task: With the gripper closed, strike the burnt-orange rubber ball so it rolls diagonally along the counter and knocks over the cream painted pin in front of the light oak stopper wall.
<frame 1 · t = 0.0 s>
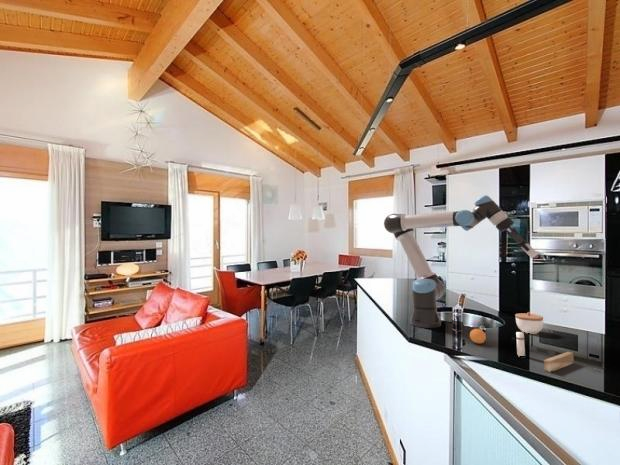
hand: (534, 256, 142), 36 cm above the table, tool tilted 35°, fingers open, 13 cm apart
lidded jar: (529, 332, 142), on the table
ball: (477, 336, 128), on the table
stopper wall: (559, 366, 102), on the table
pin: (521, 355, 113), on the table
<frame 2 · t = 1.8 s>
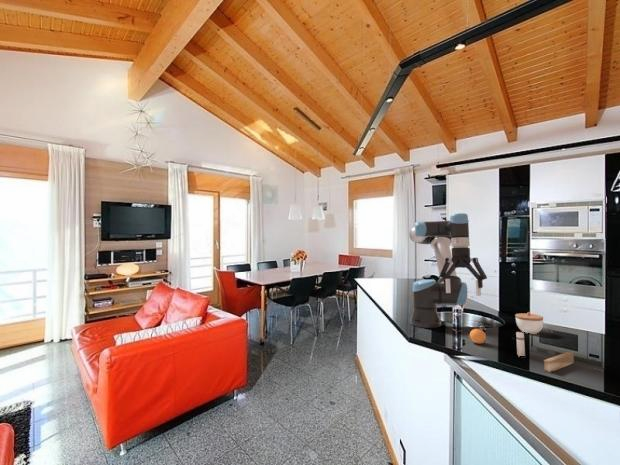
hand: (462, 294, 136), 20 cm above the table, tool pointing down, fingers open, 13 cm apart
nothing on the table moved.
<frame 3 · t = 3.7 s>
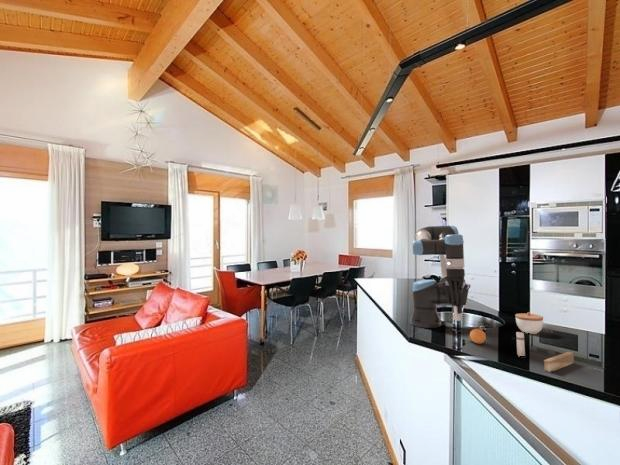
hand: (457, 320, 136), 8 cm above the table, tool pointing down, fingers closed
nothing on the table moved.
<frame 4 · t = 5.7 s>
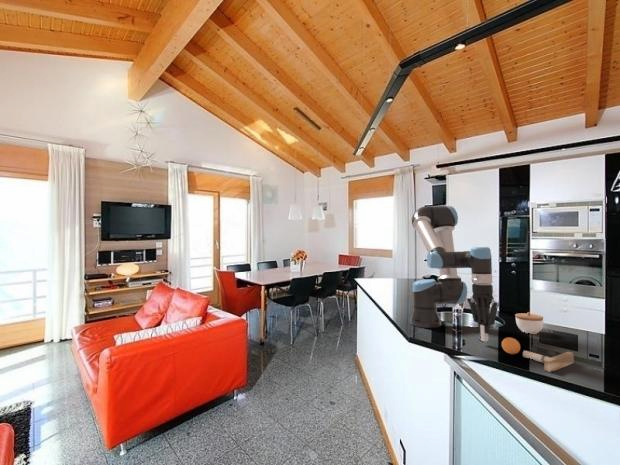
hand: (484, 340, 125), 2 cm above the table, tool pointing down, fingers closed
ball: (510, 345, 115), on the table
pin: (524, 353, 112), point 1 cm above the table, tilted 90°
everything else where it was.
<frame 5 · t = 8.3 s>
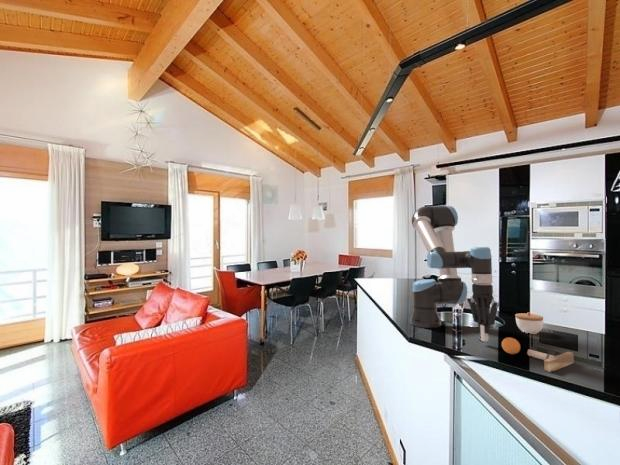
hand: (484, 340, 125), 2 cm above the table, tool pointing down, fingers closed
pin: (529, 352, 113), point 1 cm above the table, tilted 90°
everything else where it was.
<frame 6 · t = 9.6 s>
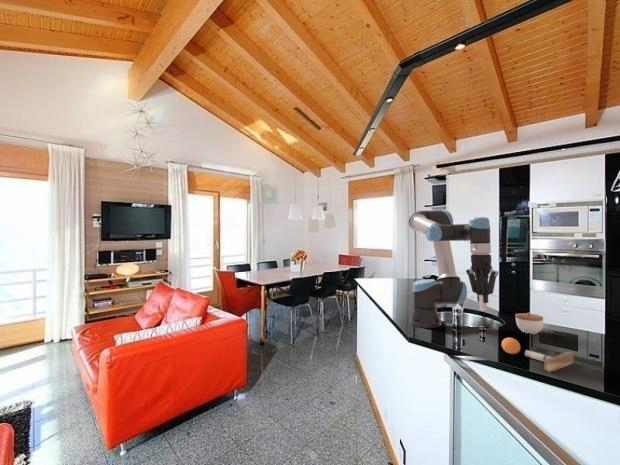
hand: (483, 310, 126), 14 cm above the table, tool pointing down, fingers closed
pin: (526, 353, 112), point 1 cm above the table, tilted 90°
everything else where it was.
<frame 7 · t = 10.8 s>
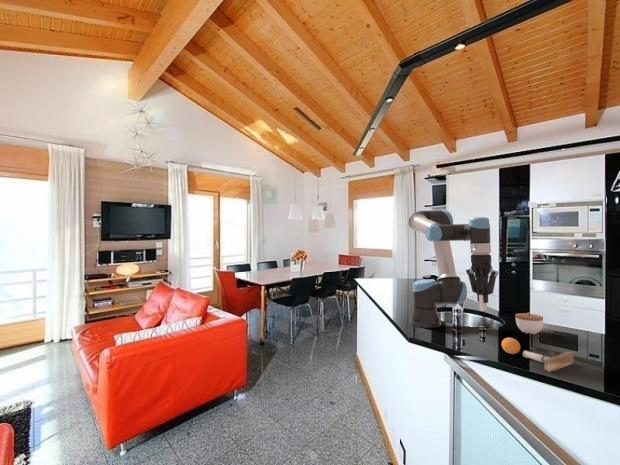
hand: (483, 310, 126), 14 cm above the table, tool pointing down, fingers closed
pin: (524, 353, 112), point 1 cm above the table, tilted 90°
everything else where it was.
at the end: pin tilted 90°; pin never touched the robot; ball moved 13.9 cm from its start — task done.
